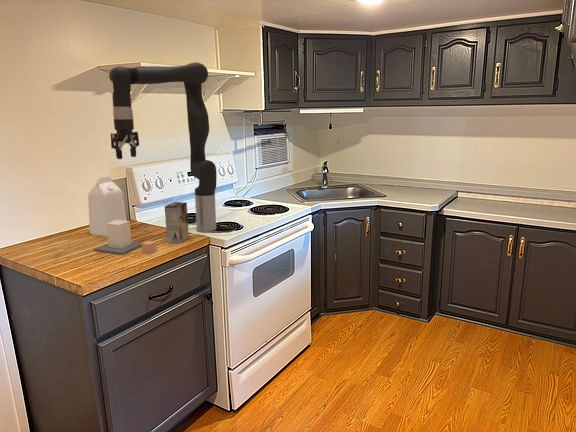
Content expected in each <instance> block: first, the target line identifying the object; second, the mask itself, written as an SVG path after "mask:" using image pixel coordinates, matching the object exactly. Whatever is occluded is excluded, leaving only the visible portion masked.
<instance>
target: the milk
mask: <svg viewBox="0 0 576 432" xmlns="http://www.w3.org/2000/svg"><path fill="white" fill-rule="evenodd" d="M96 178H97V179H96V181H95V182H96V183H95V185H94V186H93V187H92V188H91V189H90V191H89V192H88V195H87V199H88V200H87V201H88V203H87V204H88V205H87V206H88V222H89V234H90V233H91V235H95V234H96V235H95V236H101V235H102V237H107V227H106V223H109V222H112V221H115V220H125V221H128V220H127V213H126V207H125V198H124V193H123V191H122V190H121V188H120V187H119V186H118V185H117V184H116V183H114V181H113V180H112V178H111V175H104V176H98V177H96Z"/></svg>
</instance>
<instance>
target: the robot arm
mask: <svg viewBox="0 0 576 432" xmlns="http://www.w3.org/2000/svg"><path fill="white" fill-rule="evenodd" d="M108 77H109V80H110V82H111V83H112V87H113V88H112V89H113V92H112V95H111V97H112V108H113V109H112V115H113V126H114V130H115V131H116V133H112V132H111V133H110V147H111V149H113V150H115V157H116V159H117V160H122V159H123V151H122V149H123V146H125V144H128V145H129V147H130V148H129V150H130V157H131V158H136V157H137V147H139V146H140V139H139V138H140V137H139V132H138V131H133V130H135V126H134V123H135V122H134V113H133V107H132V97H131V96H132V95H131V89H132V85H157V84H158V85H159V84H167V83H183V86H184V91H185V97H186V99H185V100H186V112H187V114H186V115H187V126H188V127H187V128H188V136H189V145H190V146H189V148H190V151H189V152H190V158H189V159H190V160H189V162H190V163H189V164H190V165H189V166H190V173H191V175H192V177H193V178H196V179H198V186H197V187H196V188H195V189H194V202H195V206H194V207H195V223H196V227H195V228H196V231H197V232H200V233H209V232H215V231H216V230H217V217H216V216H217V215H216V214H217V213H216V212H217V211H216V189H217V177H218V176H217V167H216V164H215V163H214V162H213V161H211V160H207V159H206V158H207V157H206V143H207V141H208V137H209V133H210V120H209V113H208V109H207V108H206V104H205V101H204V98H203V89H202V88H203V86H202V84H204V83H205V82H206V81H207V80H208V77H209V71H208V69H207V66H205V64H202V63H200V62H197V61H195V62H191V63H187V64H185V65H175V66H173V65H172V66H165V65H164V66H158V65H154V66H153V65H143V66H135V67H124V66H121V65H119V66H115V67H114V68H112V69H111V70H110V71H109V74H108ZM214 230H215V231H214Z"/></svg>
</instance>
